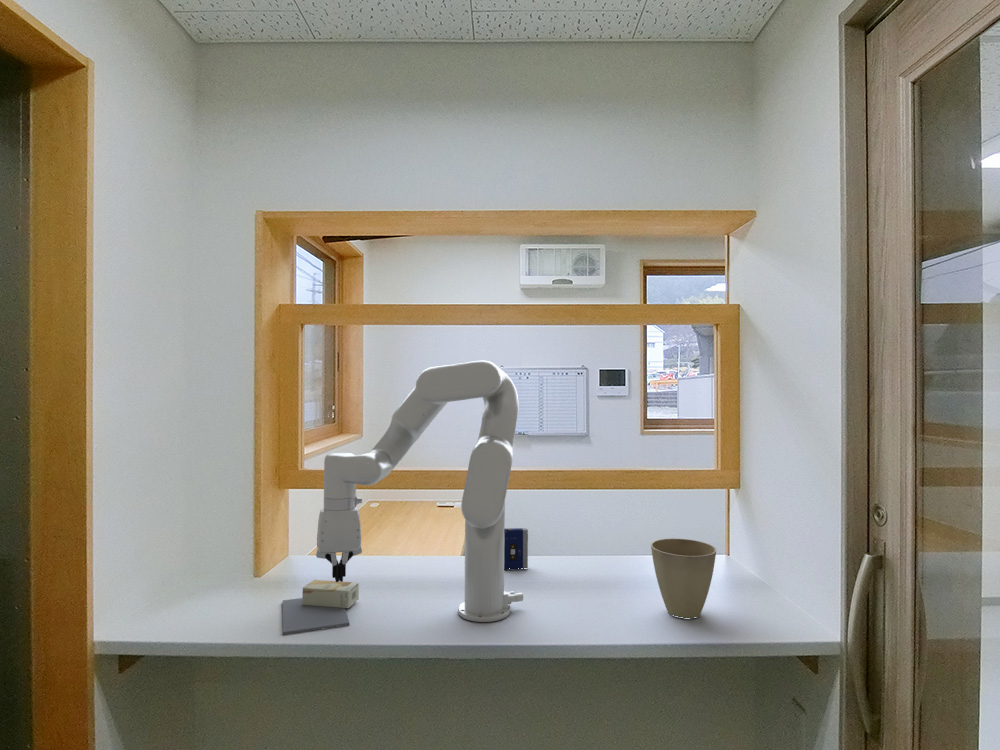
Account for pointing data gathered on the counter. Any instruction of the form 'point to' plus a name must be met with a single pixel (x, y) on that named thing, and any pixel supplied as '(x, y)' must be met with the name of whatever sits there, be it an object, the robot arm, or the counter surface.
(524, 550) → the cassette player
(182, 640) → the counter surface
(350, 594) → the skincare box
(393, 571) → the counter surface
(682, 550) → the plant pot
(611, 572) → the counter surface
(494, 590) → the robot arm
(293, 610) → the mat
